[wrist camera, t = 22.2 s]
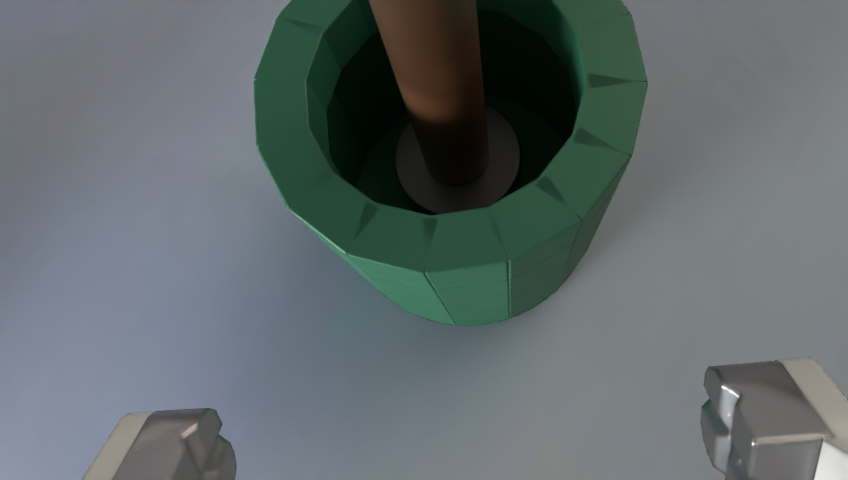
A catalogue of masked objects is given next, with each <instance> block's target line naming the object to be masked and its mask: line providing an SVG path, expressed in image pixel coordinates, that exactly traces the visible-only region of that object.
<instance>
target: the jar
mask: <svg viewBox="0 0 848 480" xmlns="http://www.w3.org/2000/svg"><path fill="white" fill-rule="evenodd" d="M476 7H477V19H478V30H479V42H480V53H481V65H482V76H483V88H484V100H485V103H486V104H489V105H490V106H492V107H494V108H496V109H497V110H499V111H500V112H501V113H503V114H504V115H505V116H506V117H507V118H508V120H509V121H510V122H511V123H512V125H513V126H514V128H515V130H516V132H517V134H518V137H519V139H520V143H521V149H522V168H521V188H520V189H518V190H516V191H515V192H513V193H511V194H509V195H508V196H506V197H504V198H502V199H501V200H499V201H497V202H495V203H494V204H492V205H490V206H488V207H484V208H477V209H471V210H464V211H457V212H451V213H444V214H437V215H426V214H422V213H418V212H414V211H412V209H411V207H410V205H409V203H408V201H407V199H406V197H405V195H404V193H403V191H402V189H401V187H400V185H399V183H398V180H397V177H396V174H395V169H394V153H395V148H396V144H397V141H398V138H399V136H400V134H401V132H402V131H403V129H404V127H405V126H406V125H407V123H408V122H409V121H410V118H409V115H408V112H407V109H406V106H405V103H404V100H403V98H402V95H401V92H400V89H399V86H398V83H397V80H396V77H395V75H394V72H393V69H392V66H391V63H390V60H389V57H388V54H387V52H386V49H385V46H384V43H383V40H382V37H381V34H380V31H379V29H378V26H377V23H376V20H375V17H374V14H373V11H372V8H371V6H370V3H369V0H291V1H290V3H289V4H288V5H287V6H286V7H285V8H284V9H283V10H282V12H281V13H280V14H279V16H278V17H277V19H276V22H275V24H274V27H273V30H272V32H271V35H270V37H269V40H268V43H267V45H266V48H265V51H264V53H263V56H262V59H261V61H260V64H259V66H258V69H257V72H256V74H255V77H254V102H255V127H256V146H257V147H258V152H259V154H260V156H261V158H262V160H263V162H264V164H265V166H266V168H267V170H268V172H269V174H270V176H271V177H272V179H273V181H274V183H275V185H276V187H277V189H278V191H279V193H280V195H281V197H282V199H283V201H284V203H285V205H286V207H287V208H288V209H289V210H290V212H291V213H292V214H293V215H294V216H296V217H297V218H298V219H299V220H300V221H301V222H302V223H303V224H304V225H306V226H307V227H308V228H309V229H310V230H311V231H312V232H314V234H316V235H317V236H318V237H319V238H320V239H321V240H322V241H323V242H325V243H326V244H327V245H328V246H329V247H330V248H331V249H332V250H333V251H335V252H336V253H337V254H338V255H339V256H340V257H341V258H342V259H343V260H345V261H346V262H347V263H348V264H349V265H350V266H351V267H352V268H353V269H355V270H356V271H357V272H358V273H359V274H360V275H361V276H362V277H363V278H365V279H366V280H367V281H368V282H369V283H370V284H372V285H373V286H374V287H376V288H377V289H378V290H379V291H381V292H382V293H383V294H384V295H386V296H387V297H388V298H389V299H390V300H392V301H393V302H395V303H396V304H397V305H398V306H400V307H401V308H402V309H403V310H405V311H407V312H410V313H413V314H415V315H417V316H420V317H423V318H426V319H429V320H432V321H436V322H441V323H446V324H452V325H482V324H488V323H493V322H499V321H502V320H505V319H508V318H511V317H514V316H517V315H519V314H521V313H523V312H525V311H527V310H529V309H531V308H533V307H535V306H536V305H538V304H539V303H541V302H542V301H544V300H545V299H547V298H548V297H549V296H550V295H551V294H553V293H554V292H555V291H557V290H558V288H559V287H560V286H561V285H562V284H563V282H564V281H565V280H566V279H567V278H568V277H569V275H570V274H571V273H572V271H573V270H574V268H575V267H576V265H577V263H578V262H579V260H580V259H581V258H582V256H583V255H584V254H585V252H586V251H587V249H588V247H589V245H590V243H591V241H592V239H593V237H594V234H595V232H596V230H597V228H598V226H599V224H600V222H601V220H602V218H603V215H604V213H605V211H606V209H607V207H608V205H609V203H610V201H611V198H612V196H613V194H614V192H615V190H616V188H617V186H618V184H619V182H620V180H621V177H622V175H623V173H624V171H625V169H626V167H627V165H628V163H629V161H630V158H631V156H632V154H633V149H634V145H635V140H636V135H637V131H638V126H639V122H640V117H641V113H642V108H643V104H644V99H645V95H646V90H647V86H648V83H647V77H646V73H645V69H644V64H643V60H642V56H641V52H640V48H639V43H638V39H637V35H636V31H635V27H634V22H633V18H632V15H631V14H630V12H629V10H628V9H627V7H626V6H625V5H624V4H623V3H622V1H621V0H476Z"/></svg>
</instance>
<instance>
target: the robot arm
mask: <svg viewBox="0 0 848 480" xmlns="http://www.w3.org/2000/svg"><path fill="white" fill-rule="evenodd" d="M704 387H705V390H706V392H707V394H708V396H709V398H710V399H709V400H708V401H707V402H706V403H705V404H704V405H703V406H702V409H701V428H702V435H703V441H704V444H705V447H706V451H707V454H708V456H709V458H710V461H711V463H712V465H713V467H714V468H716V469H717V470H719V471H720V472H721V473H723V474H724V475H726V478H725V480H848V400H847V399H846V398H845V397H844V395H843V394H842V393H841V391H840V390H839V389H838V388H837V386H836V385H835V384H834V382H833V381H832V380H831V379H830V377H829V376H828V375H827V374H826V372H825V371H824V370H823V368H822V367H821V366H820V365H819V363H818V362H817V361H816V360H814V359H812V358H811V357H803V358H793V359H782V360H775V361H765V362H754V363H743V364H732V365H721V366H710V367H708V368H707V370H706V372H705V378H704ZM221 426H222V422H221V420H220V418H219V416H218V413H217V411H216V410H214V409H210V408H201V409H184V410H166V411H155V412H143V413H128V414H127V415H125V416H124V417H122V418H121V419H120V420H119V422H118V423H117V425H116V426H115V428H114V429H113V431H112V433H111V434H110V436H109V437H108V439H107V440H106V442H105V444H104V445H103V447H102V448H101V450H100V452H99V453H98V455H97V456H96V458H95V459H94V461H93V463H92V464H91V466H90V467H89V469H88V470H87V472H86V474H85V475H84V477H83V478H82V480H235V477H236V459H235V453H234V450H233V448H232V445H231V443H230V442H229V441H227V440H226V439H225V438H223V437H222V436H220V435H219V431H220V429H221Z"/></svg>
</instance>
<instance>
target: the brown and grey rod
mask: <svg viewBox="0 0 848 480" xmlns="http://www.w3.org/2000/svg"><path fill="white" fill-rule="evenodd" d="M369 3H370V6H371V8H372V11H373V14H374V17H375V20H376V23H377V26H378V29H379V31H380V34H381V37H382V40H383V43H384V46H385V49H386V52H387V54H388V57H389V60H390V63H391V66H392V69H393V72H394V75H395V77H396V80H397V83H398V86H399V89H400V92H401V95H402V98H403V100H404V103H405V106H406V109H407V112H408V115H409V118H410V121H409V122H408V123H407V125H406V126H405V127H404V129H403V131H402V132H401V134H400V136H399V138H398V141H397V144H396V148H395V153H394V169H395V174H396V177H397V180H398V183H399V185H400V187H401V189H402V191H403V193H404V195H405V197H406V199H407V201H408V203H409V205H410V207H411V209H412V211H414V212H418V213H422V214H426V215H437V214H444V213H451V212H457V211H464V210H471V209H477V208H484V207H488V206H490V205H492V204H494V203H495V202H497V201H499V200H501V199H502V198H504V197H506V196H508V195H509V194H511V193H513V192H515V191H516V190H518V189H520V188H521V168H522V149H521V143H520V139H519V137H518V134H517V132H516V130H515V128H514V126H513V125H512V123H511V122H510V121H509V120H508V118H507V117H506V116H505V115H504V114H503V113H501V112H500V111H499V110H497V109H496V108H494V107H492V106H490V105H489V104H486V103H485V100H484V88H483V76H482V65H481V53H480V42H479V30H478V19H477V7H476V0H369Z"/></svg>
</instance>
